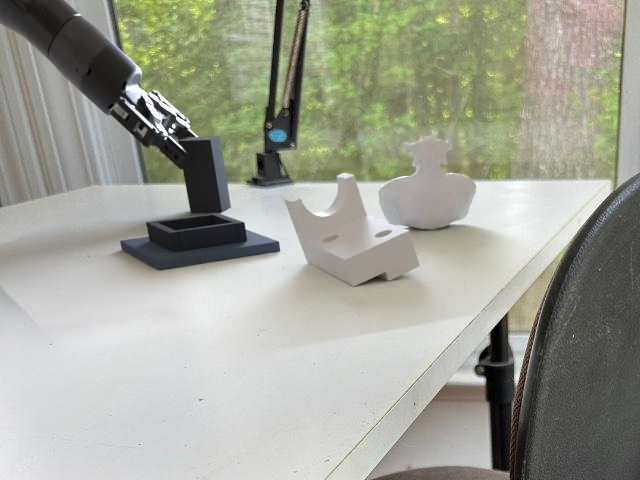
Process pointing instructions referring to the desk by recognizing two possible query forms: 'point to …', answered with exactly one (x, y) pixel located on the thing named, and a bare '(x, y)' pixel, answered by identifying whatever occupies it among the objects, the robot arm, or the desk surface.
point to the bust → (427, 189)
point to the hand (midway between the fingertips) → (196, 159)
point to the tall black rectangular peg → (205, 175)
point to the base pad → (196, 241)
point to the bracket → (352, 238)
